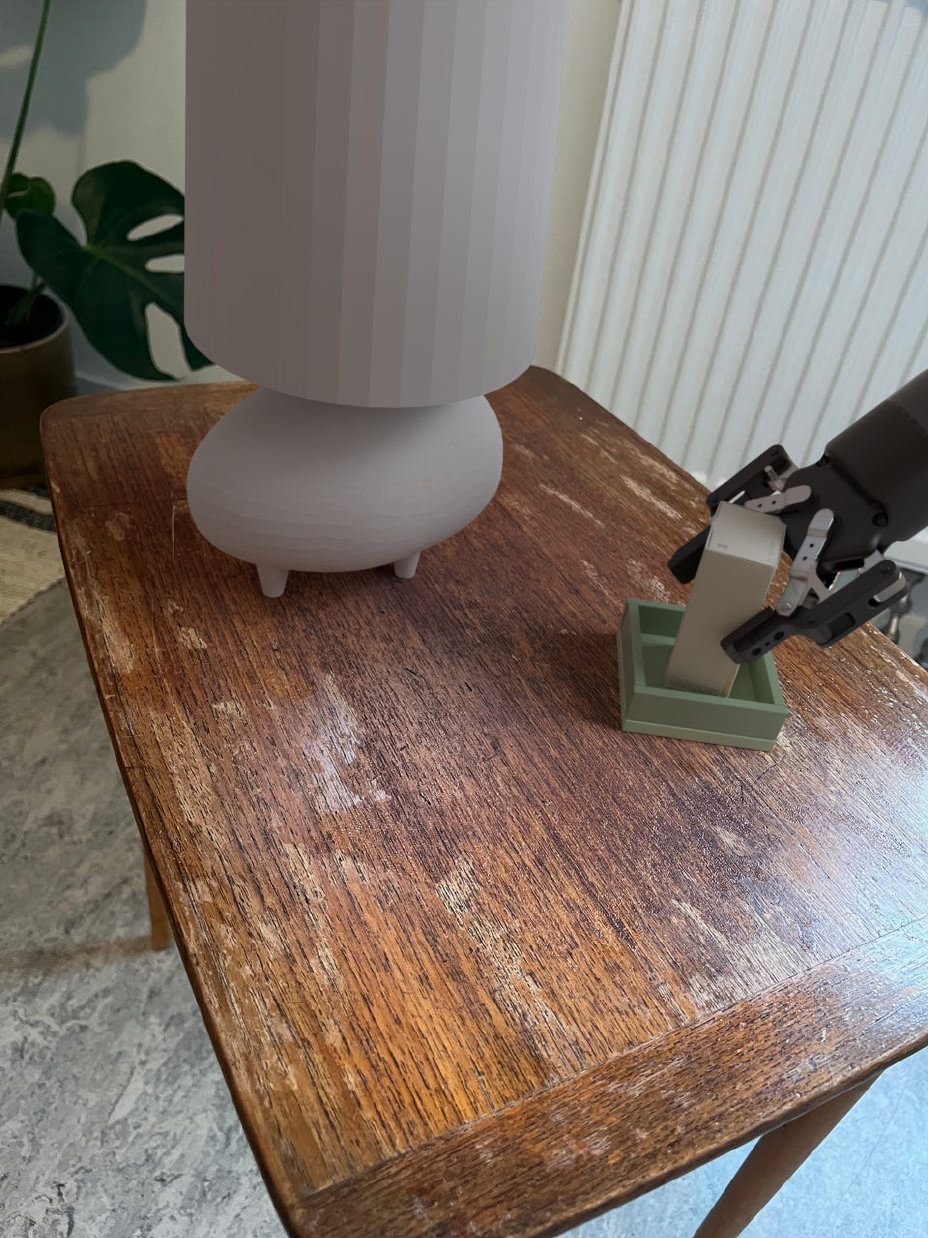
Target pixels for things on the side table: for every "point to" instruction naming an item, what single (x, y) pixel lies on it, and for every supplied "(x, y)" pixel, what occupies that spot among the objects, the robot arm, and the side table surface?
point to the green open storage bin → (685, 715)
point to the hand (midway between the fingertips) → (700, 613)
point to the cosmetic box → (724, 597)
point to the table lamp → (362, 264)
